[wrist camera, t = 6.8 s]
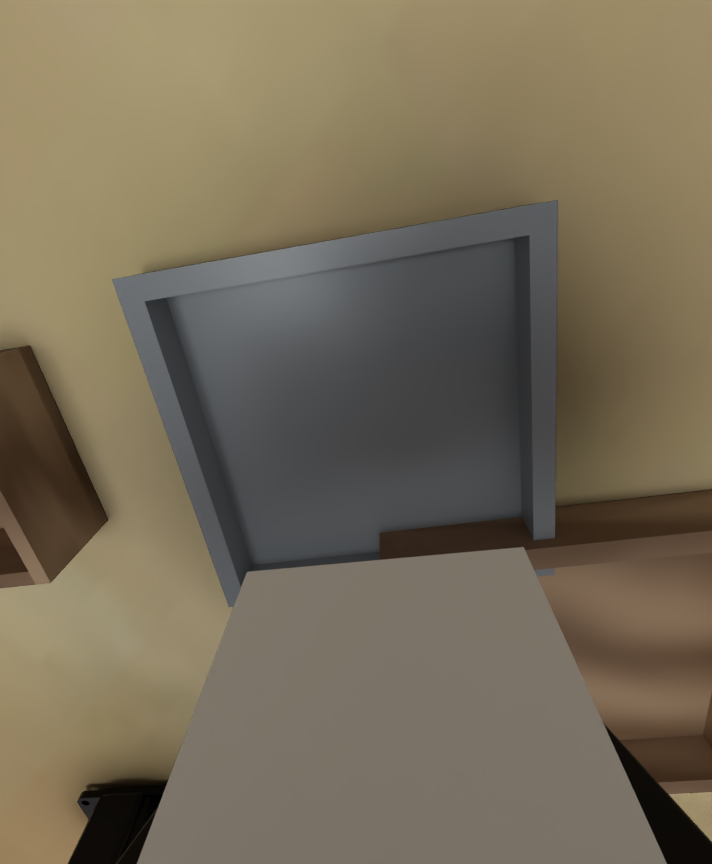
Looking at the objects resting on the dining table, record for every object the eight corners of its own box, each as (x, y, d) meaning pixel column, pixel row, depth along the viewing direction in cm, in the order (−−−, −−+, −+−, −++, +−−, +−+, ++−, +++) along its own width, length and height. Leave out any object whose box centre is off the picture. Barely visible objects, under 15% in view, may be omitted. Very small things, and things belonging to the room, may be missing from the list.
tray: (538, 543, 20) (554, 575, 18) (241, 574, 22) (228, 606, 20) (535, 203, 15) (557, 200, 13) (141, 273, 16) (112, 279, 15)
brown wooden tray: (715, 738, 25) (749, 789, 23) (419, 756, 27) (423, 806, 24) (772, 483, 19) (827, 518, 16) (379, 527, 20) (379, 565, 18)
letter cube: (524, 732, 10) (649, 1168, 5) (299, 743, 11) (237, 1152, 6) (523, 547, 8) (721, 986, 3) (246, 571, 9) (90, 985, 4)
